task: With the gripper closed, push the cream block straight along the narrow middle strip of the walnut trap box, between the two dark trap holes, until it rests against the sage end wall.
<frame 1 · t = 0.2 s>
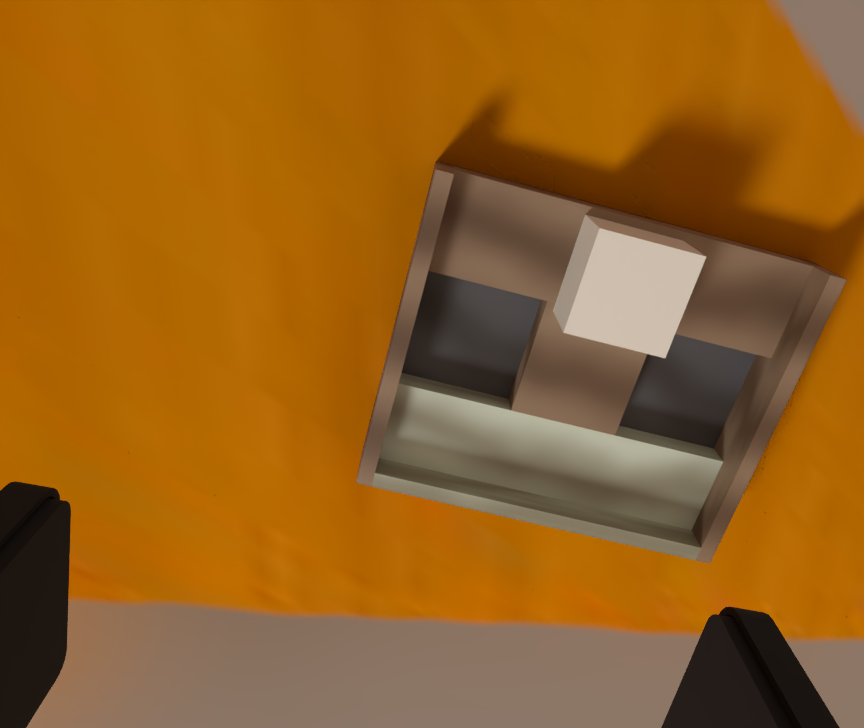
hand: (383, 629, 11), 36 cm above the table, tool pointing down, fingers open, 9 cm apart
cream block: (616, 276, 44), point 2 cm above the table, touching trap box
trap box: (575, 362, 48), on the table
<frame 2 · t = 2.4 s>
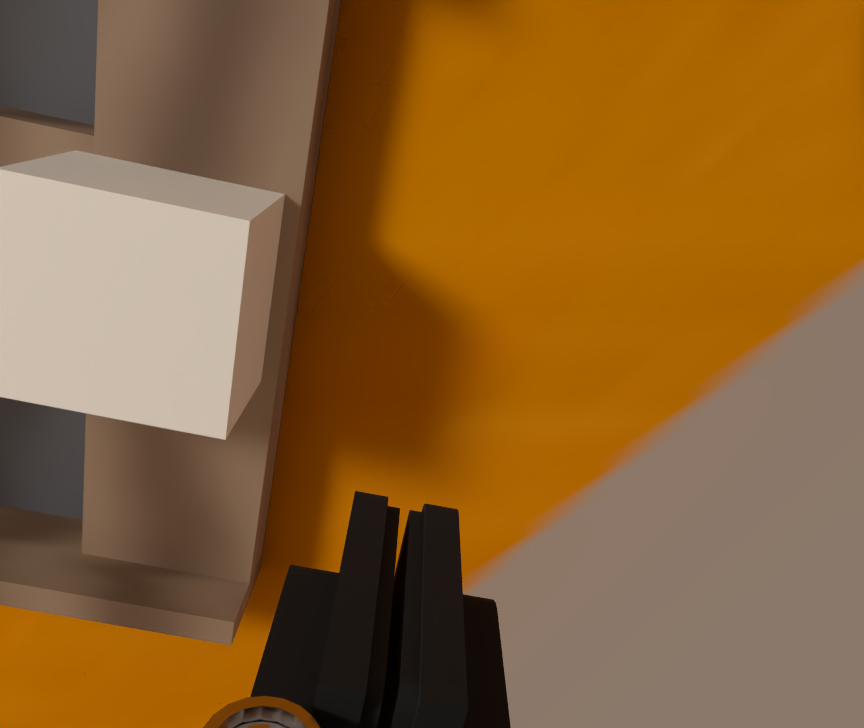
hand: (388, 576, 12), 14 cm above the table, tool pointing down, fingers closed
cream block: (173, 272, 22), point 2 cm above the table, touching trap box
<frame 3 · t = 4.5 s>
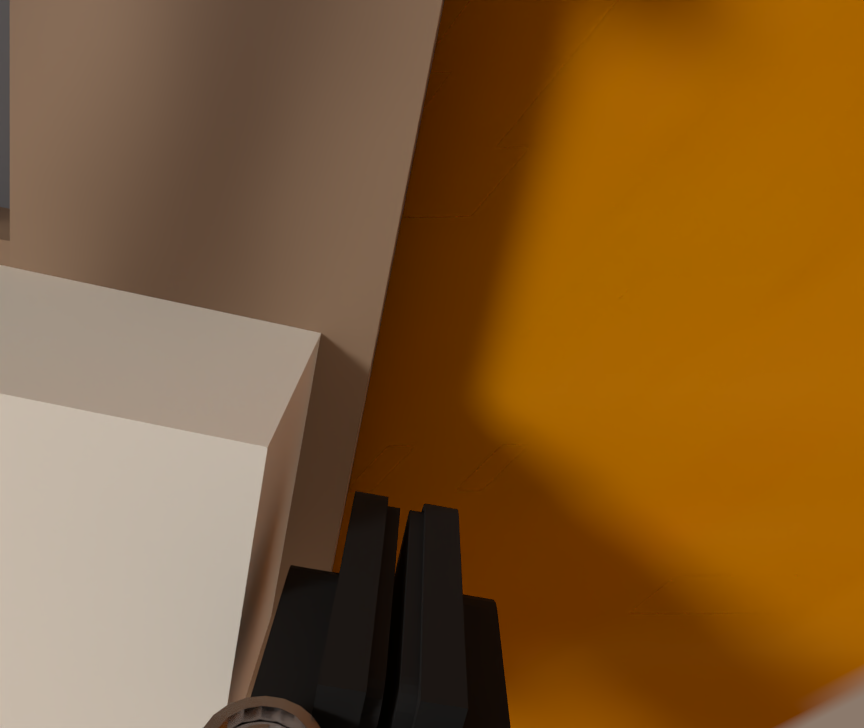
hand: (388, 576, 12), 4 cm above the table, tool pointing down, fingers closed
cream block: (127, 453, 13), point 2 cm above the table, touching gripper, trap box
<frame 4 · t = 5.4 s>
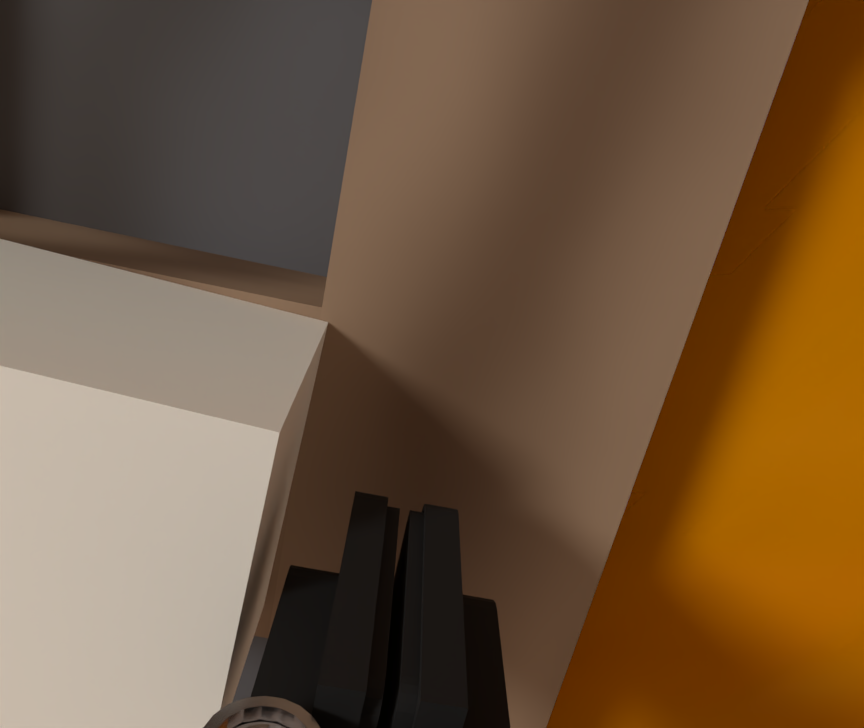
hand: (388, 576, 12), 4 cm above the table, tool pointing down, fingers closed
cream block: (126, 436, 13), point 2 cm above the table, touching gripper
trap box: (115, 400, 15), on the table
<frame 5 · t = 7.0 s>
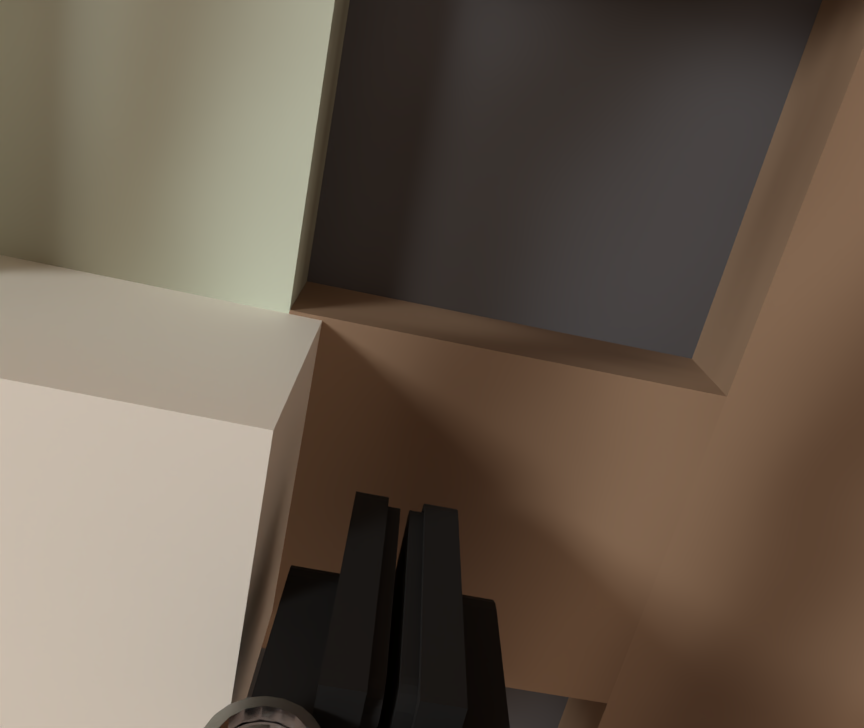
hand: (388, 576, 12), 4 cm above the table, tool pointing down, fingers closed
cream block: (124, 445, 13), point 2 cm above the table, touching gripper, trap box
trap box: (450, 472, 15), on the table
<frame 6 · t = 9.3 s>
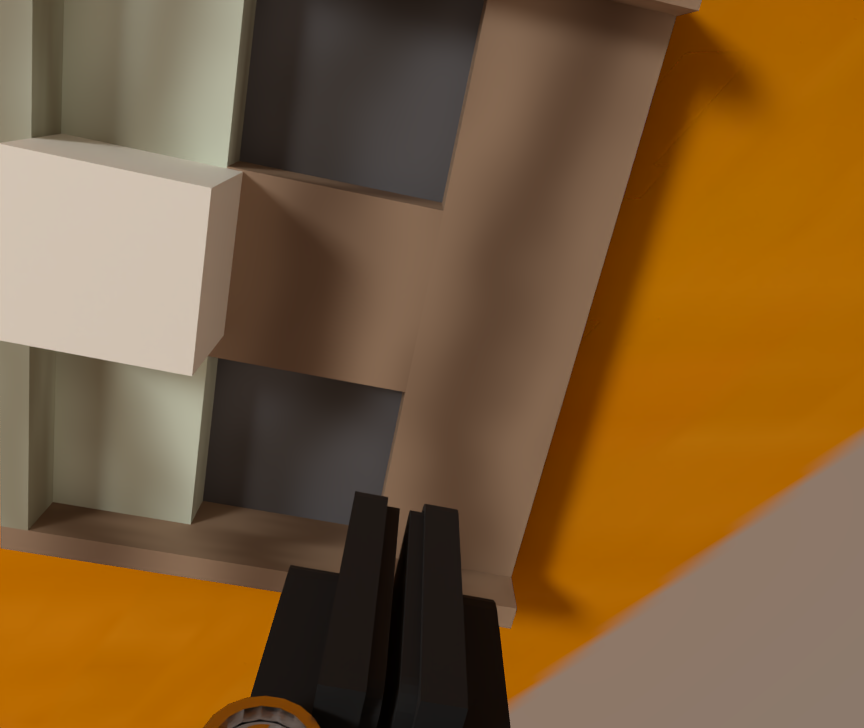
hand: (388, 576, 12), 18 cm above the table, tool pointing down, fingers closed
cream block: (147, 239, 26), point 2 cm above the table, touching trap box
trap box: (321, 271, 28), on the table
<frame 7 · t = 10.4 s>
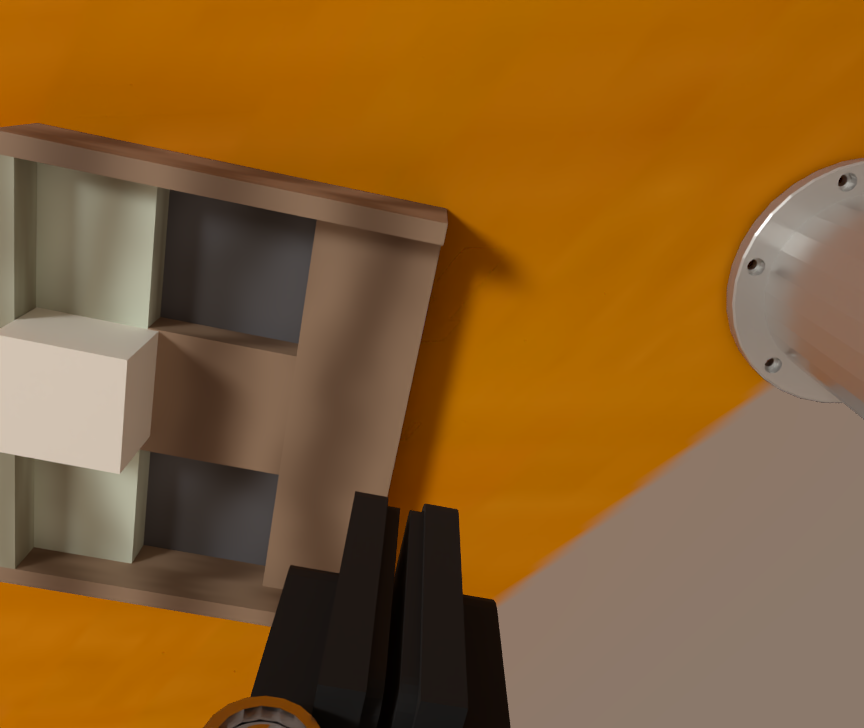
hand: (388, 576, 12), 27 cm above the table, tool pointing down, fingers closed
cream block: (95, 373, 38), point 2 cm above the table, touching trap box
trap box: (221, 388, 40), on the table
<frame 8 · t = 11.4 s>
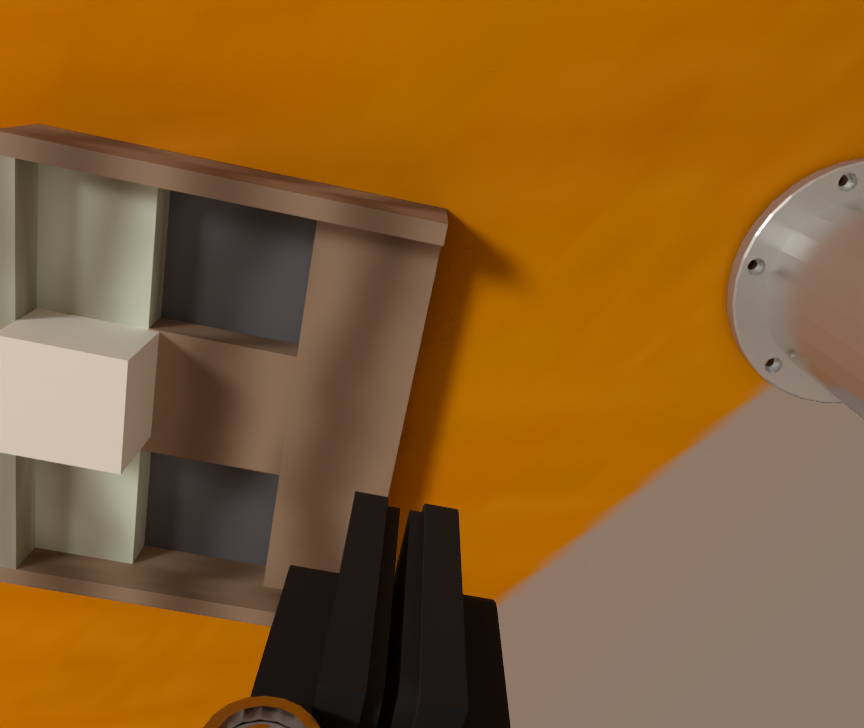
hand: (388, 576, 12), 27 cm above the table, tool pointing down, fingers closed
cream block: (96, 374, 38), point 2 cm above the table, touching trap box
trap box: (222, 388, 40), on the table
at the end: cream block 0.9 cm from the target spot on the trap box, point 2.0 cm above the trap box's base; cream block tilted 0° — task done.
